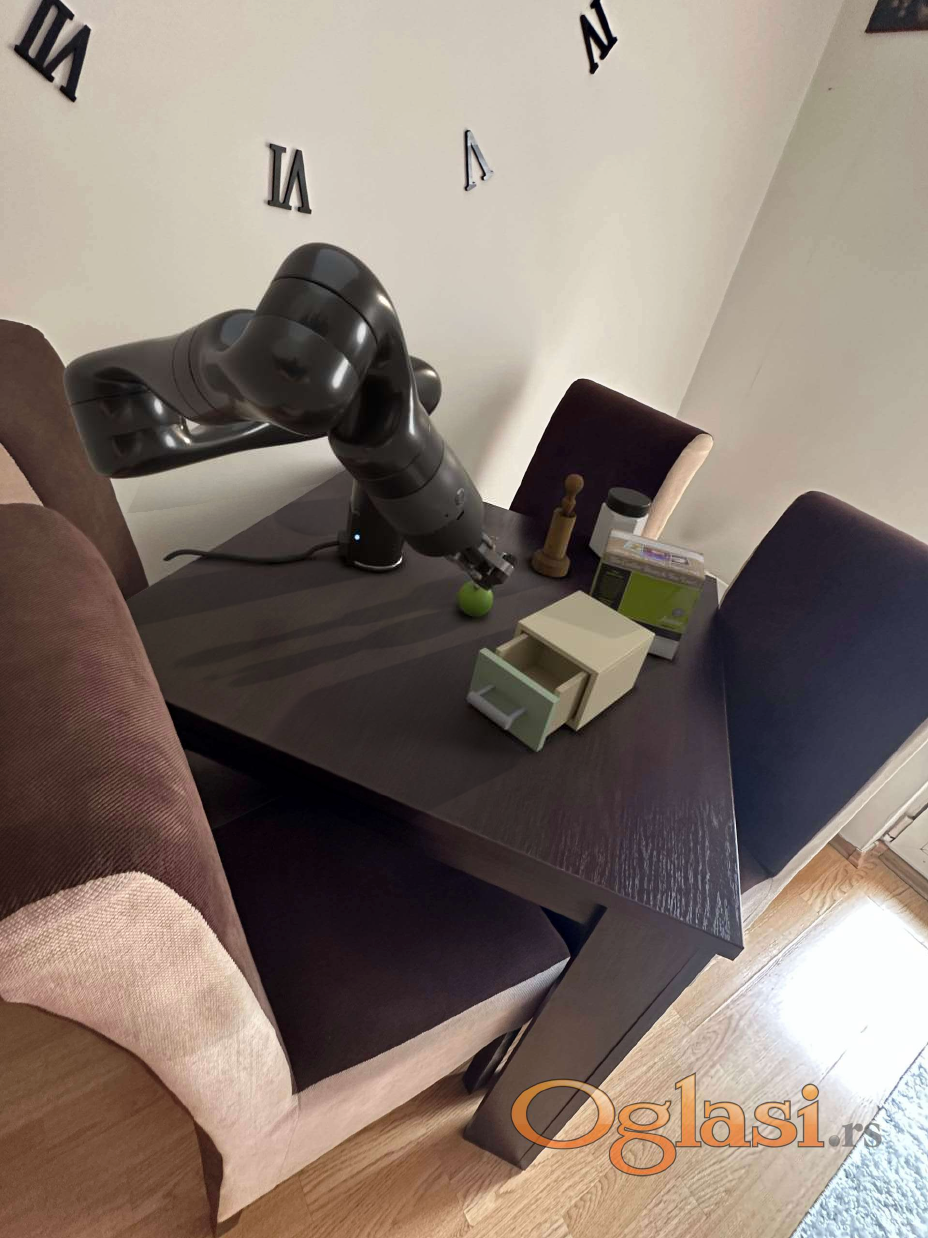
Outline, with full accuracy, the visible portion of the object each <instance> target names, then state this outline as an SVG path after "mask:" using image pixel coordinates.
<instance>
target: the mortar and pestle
mask: <svg viewBox="0 0 928 1238" xmlns="http://www.w3.org/2000/svg"><path fill="white" fill-rule="evenodd" d="M564 483H565V485H564V486H565V490H566V496H565V497H563V498H562V502H561V503H562V504H561V505H562V506H561V507H557V508H555V509H554V511H553V515H552V517H551V518H552V519H551V522H550V525H549V529H548V532H547V535H546V539H545V542H544V546H543V547H542V548H540V549H537V550H535V551H534V553H533V556H532V560H531V567H532V568H533V570H535V571H536V572H538V573H540V574H542V575H544V576H548V577H551V578H561V577H564V576H566V575H567V574H568V571H569V567H570V564H571V560H570V558H569V557H568V556H567V554H566V552H567V548H568V545H569V542H570V538H571V534H572V532H573V528H574V525H575V522H576V519H577V513H575V511H573V509H574V508H575V505H576V503H577V501H576V499H575V498H576V495H577V494H578V493H580V491H581V490H582V489H583V487H584V484H585V483H584V479H583V477H582V476H581V475H579V474H576V473H572V474H570V475H568V476H567V477H566V479H565V482H564Z"/></svg>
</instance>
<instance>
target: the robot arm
mask: <svg viewBox="0 0 928 1238" xmlns="http://www.w3.org/2000/svg"><path fill="white" fill-rule="evenodd" d="M62 382H63V389H64V393H65V397H66V401H67V403H68V406H70V407H69V409H70V413H71V415H72V418H73V421H74V424H75V427H76V429H77V433H78V436H79V438H80V441H81V443H82V446H83V449H84V453H85V454H86V457H87V459H88V462H89V464H90V466H91V468H92V470H93V471H94V472H95V473H96V474H97V475H99V476H101V477H104V478H107V479H112V480H113V479H114V480H125V479H136V478H137V479H138V478H143V477H148V476H153V475H157V474H162V473H165V472H170V471H173V470H177V469H181V468H184V467H188V466H192V465H196V464H199V463H203V462H207V461H210V460H215V459H217V458H221V457H225V456H230V455H234V454H239V453H243V452H248V451H255V450H260V449H265V448H266V449H267V448H274V447H280V446H288V445H294V444H299V443H304V442H309V441H314V440H318V439H319V440H320V439H322V438H326V437H327V441H328V444H329V447H330V450H331V451H332V453H333V454H334V456H335V458H336V459H337V460H338V461H339V463H341V465H342V466H343V467H344V468H345V470H346V471H348V473H349V474H350V475H351V477H353V480H352V491H351V496H350V497H349V502H348V512H347V522H346V530H338V532H337V540H332V541H327V542H324V543H319V544H317V545H315V546H314V545H313V546H312V547H311V548H310V549H308V550H307V551H305V552H302V553H299V554H296V555H295V554H294V555H291V556H281V557H259V556H258V557H257V556H248V555H247V556H245V555H240V554H234V553H224V552H214V551H206V550H205V551H204V550H198V549H191V548H183V549H177V550H175V551H172V552H170V553H168V554H167V555H166V556H164V557H163V559H162V561H163V562H170V561H172V560H173V559H174V558H177V557H180V556H185V555H190V556H199V557H205V558H214V559H215V558H216V559H227V560H232V561H239V562H246V563H257V564H259V563H260V564H264V563H266V564H268V563H269V564H273V563H274V564H276V563H277V564H278V563H279V564H281V563H289V562H290V563H291V562H295V561H299V560H303V559H307V558H309V557H310V556H312V555H313V554H314V553H317V552H318V551H321V550H324V549H327V548H332V547H336V546H337V551H338V556H345V560H346V565H347V566H352V567H356V568H358V569H361V570H364V571H368V572H375V573H376V572H377V573H380V572H381V573H382V572H389V571H393V570H395V569H397V568H398V567H400V566H401V564H402V560H403V553H404V546H405V543H406V544H407V545H408V546H409V547H410V548H411V550H413V551H415V552H416V553H418V554H420V555H422V556H424V557H428V558H444V559H445V560H446V561H448V562H449V563H451V564H453V565H456V566H458V568H459V570H461V571H462V572H465V573H466V574H467V575H468V576H469V577H470V578H471V579H472V581H474V582H475V583H476V584H477V585H478V586H480V587H481V588H483V589H484V590H486V591H489V590H490V589H491V590H493V589H494V588H495V587H496V586H498V585H503V584H504V583H505V582H506V581H507V579H508V578H509V577H510V575H512V573H513V571H514V570H515V569H516V567H518V565H519V563H520V560H519V559H518V557H517V556H516V555H514V554H511V553H508V554H506V553H505V552H504V551H501V553H500V554H498V553H497V552H496V551H493V544H494V542H493V539H492V540H491V539H490V537H489V536H488V535H487V530H486V529H485V527H484V519H485V504H484V500H483V497H482V495H481V494H480V492H479V490H478V489H477V487H476V486H475V483H474V482H473V480H472V478H471V477H470V475H469V473H468V471H466V469H465V467H464V465H463V463H462V462H461V460H460V458H459V457H458V455H457V453H456V452H455V450H454V449H453V448H452V446H451V445H450V444H449V442H448V441H447V440H446V439H445V438H444V437H443V436H442V434H440V432H439V430H438V428H437V427H436V425H435V423H434V422H433V420H432V419H431V415H432V414H433V413H434V412H435V411H436V409H437V407H438V405H439V403H440V400H441V398H442V393H443V387H442V381H441V378H440V374H439V372H438V371H437V370H436V369H435V367H433V365H431V364H430V363H429V362H427V361H425V360H423V359H422V358H420V357H417V356H414V355H410V354H409V350H408V346H407V342H406V338H405V335H404V331H403V328H402V323H401V321H400V318H399V314H398V312H397V310H396V307H395V305H394V302H393V301H392V299H391V296H390V294H389V293H388V291H387V290H386V288H385V287H384V285H383V283H382V282H381V280H380V279H379V278H378V276H377V275H376V274H375V272H374V271H372V270H371V268H370V267H369V266H368V265H367V264H366V263H365V262H364V261H362V260H361V259H360V258H359V257H357V256H356V255H354V254H353V253H351V252H350V251H348V250H347V249H345V248H343V247H340V246H339V245H338V246H337V245H335V244H332V243H328V242H320V241H319V242H308V243H305V244H301V245H300V246H298V247H296V248H294V249H293V250H292V251H291V252H290V253H289V254H288V255H287V256H286V257H285V258H284V260H283V261H282V262H281V264H280V266H279V267H278V269H277V270H276V273H275V274H274V275H273V278H272V279H271V282H270V283H269V285H268V287H267V288H266V290H265V292H264V294H263V296H262V297H261V300H260V301H259V303H258V305H257V307H256V308H255V309H251V308H233V309H229V310H226V311H222V312H219V313H217V314H215V315H213V316H211V317H208V318H206V319H204V320H203V321H201V322H199V323H197V324H195V325H193V326H191V327H189V328H188V329H185V330H184V331H181V332H179V333H175V334H171V335H166V336H160V337H158V336H157V337H151V338H146V339H141V340H136V341H131V342H127V343H123V344H122V343H121V344H119V345H114V346H109V347H105V348H101V349H97V350H94V351H91V352H88V353H84V354H82V355H81V356H78V357H76V358H74V359H73V360H72V361H70V362H69V363H68V364H67V365H66V366H65V368H64V370H63V374H62ZM187 421H190V422H191V423H195V424H197V425H196V426H195V427H193V428H191V429H189V425H188V423H187Z"/></svg>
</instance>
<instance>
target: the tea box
mask: <svg viewBox="0 0 928 1238" xmlns="http://www.w3.org/2000/svg"><path fill="white" fill-rule="evenodd" d="M704 555H705V554H704V553H702V552H700V551H697V550H693V549H689V548H685V547H682V546H678V545H674V544H672V543H668V542H663V541H660V540H656V539H653V538H650V537H647V536H643V535H641V536H639V535H636V534H632V533H628V532H625V531H621V530H618V529H614V528H611V530H610V533H609V535H608V538H607V542H606V545H605V548H604V551H603V554H602V557H600V561H599V563H598V567H597V569H596V572H595V575H594V577H593V581H592V584H591V587H590V590H589V593H588V595H589V596H590V597H592V598H594V599H596V600H597V601H599V602H601V603H603V604H604V605H606V606H608V607H609V608H611V609H613V610H615V611H616V612H618V613H620V614H622V615H623V616H625V617H627V618H628V619H630V620H632V621H634V622H635V623H637V624H639V625H641V626H642V627H644V628H646V629H648V630H649V631H651V632H653V633H654V634H655V636H654V638H653V641H652V643H651V645H650V648H649V650H648V652H647V653H649V654H652V655H655V656H657V657H658V656H659V657H661V658H665V659H668V660H673V658H674V656H675V654H676V651H677V648H678V646H679V644H680V642H681V639H682V637H683V635H684V632H685V631H686V628H687V626H688V624H689V622H690V619H691V616H692V615H693V612H694V609H695V607H696V605H697V603H698V601H699V598H700V596H701V593H702V591H703V589H704V586H705V584H706V580H707V579H706V571H705V560H704V559H705V558H704Z"/></svg>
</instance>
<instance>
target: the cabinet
mask: <svg viewBox="0 0 928 1238" xmlns="http://www.w3.org/2000/svg"><path fill="white" fill-rule="evenodd" d="M526 632H527V633H528V634H530V635H531V636H533V637H535V638H536V639H538V640H539V641H541V642H542V643H544V644H545V645H547V646H548V647H550V648H551V649H553V650H555V651H556V652H558V653H559V654H561V655H562V656H564V657H565V658H567V659H568V660H570V661H572V662H573V663H575V664H576V665H578V666H579V667H581V668H582V669H584V670H585V671H587V672H588V673H590V674H592V675H591V678H590V680H589V683H588V686H587V688H586V691H585V693H584V696H583V699H582V701H581V704H580V707H579V709H578V712H577V714H576V715H574V716H573V717H572V718H570V719H569V720H568V721H566V722H565V723H564V724H565V725H567V726H569V727H570V728H571V729H573V730H574V731H575V732H577V731H578V730H580V729H581V728H582V727H584V726H585V725H586V724H588V723H589V722H590V721H591V720H593V719H594V718H595V717H597V716H598V715H599V714H600V713H601V712H603V711H604V710H605V709H607V708H609V706H611V705H612V704H613V703H614V702H616V701H618V700H619V699H620V698H621V697H622V696H624V695H625V694H626V693H627V692H629V691H630V690H631V689H633V688H634V685H635V683H636V681H637V678H638V675H639V673H640V671H641V668H642V666H643V664H644V661H645V659H646V657H647V654H648V653H649V652H648V650H649V648H650V645H651V643H652V641H653V638H654V636H655V634H654V633H653V632H651V631H649V630H648V629H646V628H644V627H642V626H641V625H639V624H637V623H635V622H634V621H632V620H630V619H628V618H627V617H625V616H623V615H622V614H620V613H618V612H616V611H615V610H613V609H611V608H609V607H608V606H606V605H604V604H603V603H601V602H599V601H597V600H596V599H594V598H592V597H590V596H589V594H587V593H585V592H583V591H582V590H577V591H575V592H573V593H572V594H569V595H568V596H566V597H563V598H562V599H559V600H558V601H556V602H554V603H552V604H549V605H548V606H546V607H544V608H542V609H540V610H538V611H535V612H534V613H532V614H530V615H528V616H525V617H524V618H523V619H520V620H518V621H517V625H516V628H515V631H514V635H513V639H515V638H516V637H518V636H520V635H522V634H524V633H526Z"/></svg>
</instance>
